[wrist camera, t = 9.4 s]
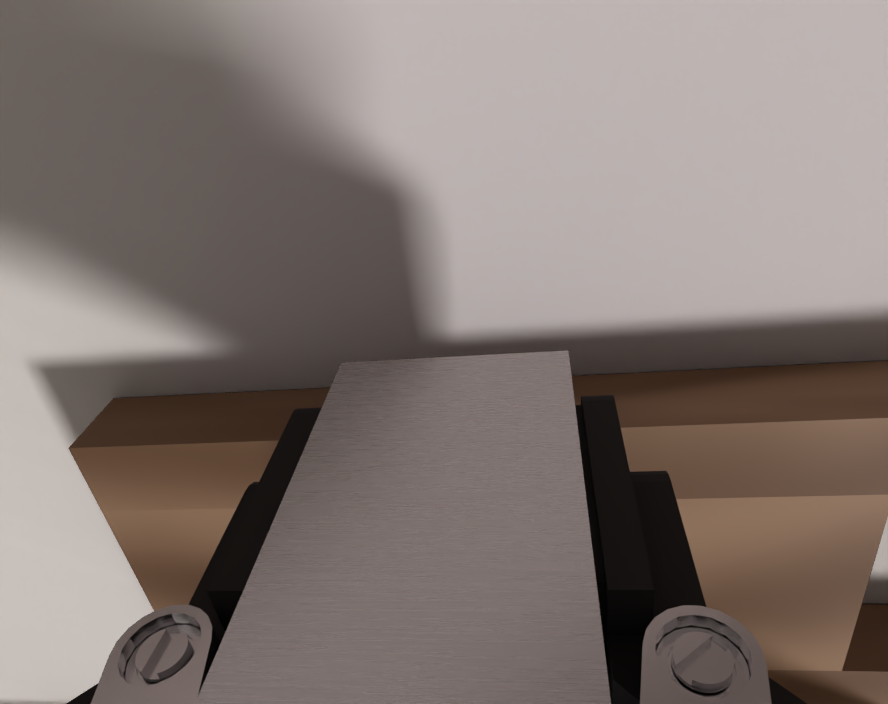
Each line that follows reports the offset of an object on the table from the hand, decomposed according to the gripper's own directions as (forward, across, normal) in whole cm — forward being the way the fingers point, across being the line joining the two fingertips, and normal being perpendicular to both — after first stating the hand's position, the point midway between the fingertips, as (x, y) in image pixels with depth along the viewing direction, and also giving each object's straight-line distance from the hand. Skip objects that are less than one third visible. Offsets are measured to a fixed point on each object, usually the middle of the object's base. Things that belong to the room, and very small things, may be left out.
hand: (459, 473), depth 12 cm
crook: (+1, -3, +8) cm, 9 cm away
